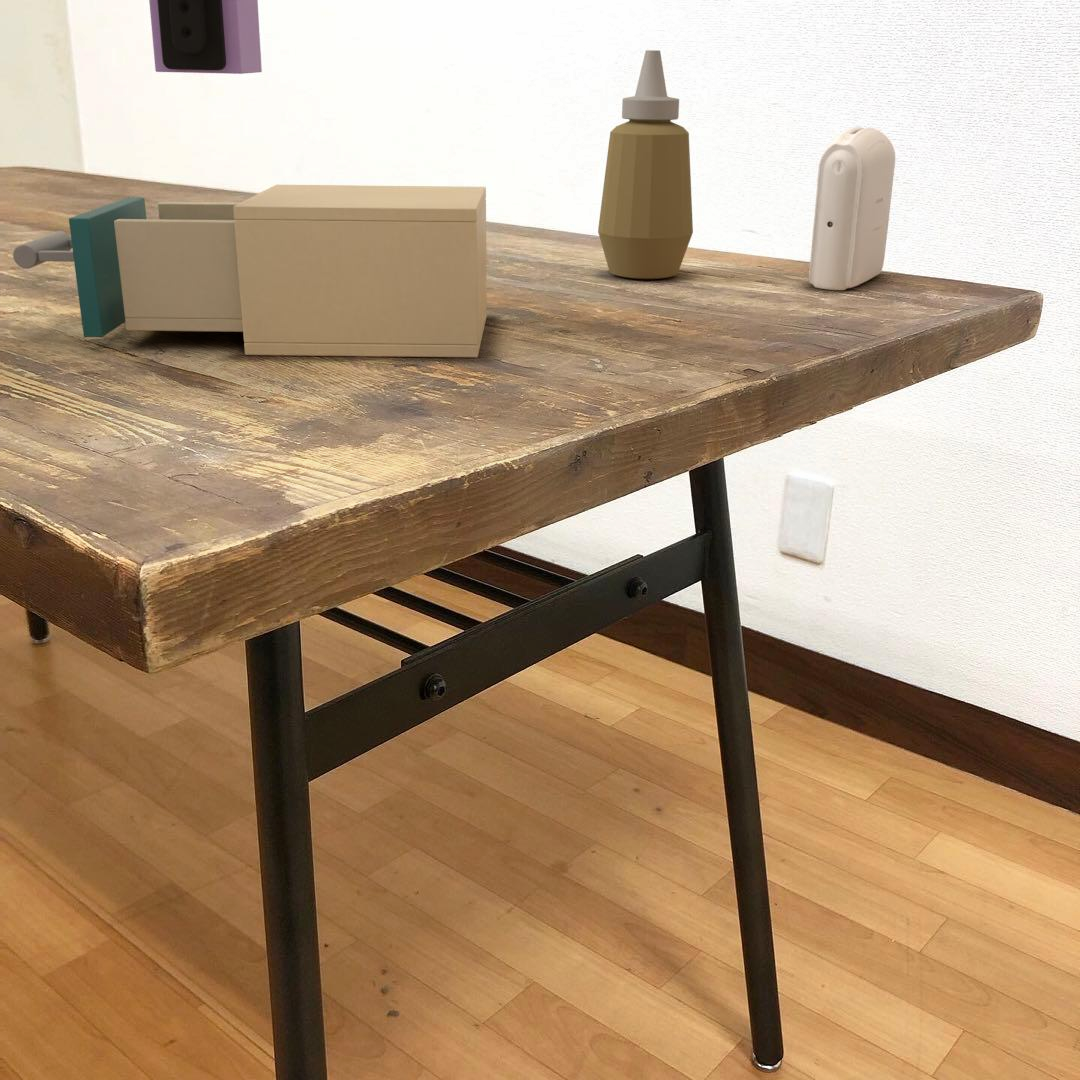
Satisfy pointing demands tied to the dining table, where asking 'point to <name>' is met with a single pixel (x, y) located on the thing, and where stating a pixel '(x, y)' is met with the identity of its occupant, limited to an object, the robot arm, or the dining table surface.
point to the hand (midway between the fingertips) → (208, 64)
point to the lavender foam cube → (237, 34)
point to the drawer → (149, 266)
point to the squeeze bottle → (647, 183)
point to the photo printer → (852, 209)
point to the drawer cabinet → (363, 270)
